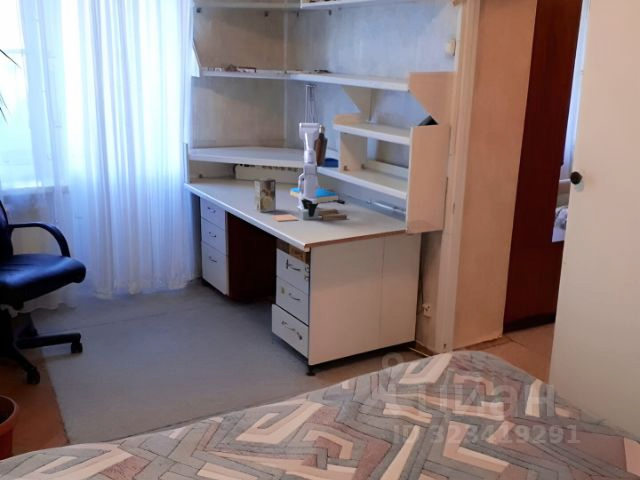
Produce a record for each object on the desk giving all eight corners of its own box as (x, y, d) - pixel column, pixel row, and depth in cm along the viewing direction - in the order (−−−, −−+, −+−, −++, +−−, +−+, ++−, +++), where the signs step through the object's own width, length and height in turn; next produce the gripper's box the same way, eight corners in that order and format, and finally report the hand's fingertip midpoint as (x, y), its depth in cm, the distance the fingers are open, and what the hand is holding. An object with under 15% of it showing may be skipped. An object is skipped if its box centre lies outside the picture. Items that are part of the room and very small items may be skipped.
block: (298, 217, 326) (299, 209, 325) (313, 216, 329) (314, 208, 328) (303, 219, 322) (303, 211, 321) (318, 218, 325) (318, 210, 324)
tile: (271, 216, 326) (271, 215, 326) (290, 215, 329) (290, 214, 329) (278, 221, 317) (278, 220, 317) (297, 220, 320) (297, 219, 320)
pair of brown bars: (313, 214, 334) (313, 210, 333) (335, 212, 338) (335, 208, 338) (324, 220, 321) (324, 216, 321) (346, 219, 326) (346, 215, 325)
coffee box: (269, 208, 344) (270, 177, 339) (275, 210, 338) (276, 179, 334) (253, 210, 339) (253, 178, 334) (259, 212, 334) (260, 181, 329)
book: (313, 197, 356) (289, 188, 376) (313, 205, 357) (289, 195, 377) (339, 194, 365) (314, 185, 385) (339, 201, 366) (314, 192, 386)
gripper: (296, 185, 327) (296, 212, 330) (307, 191, 314) (306, 219, 317) (310, 184, 329) (309, 211, 333) (321, 190, 316) (320, 218, 320)
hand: (309, 215), depth 325 cm, fingers closed on block, 5 cm apart
